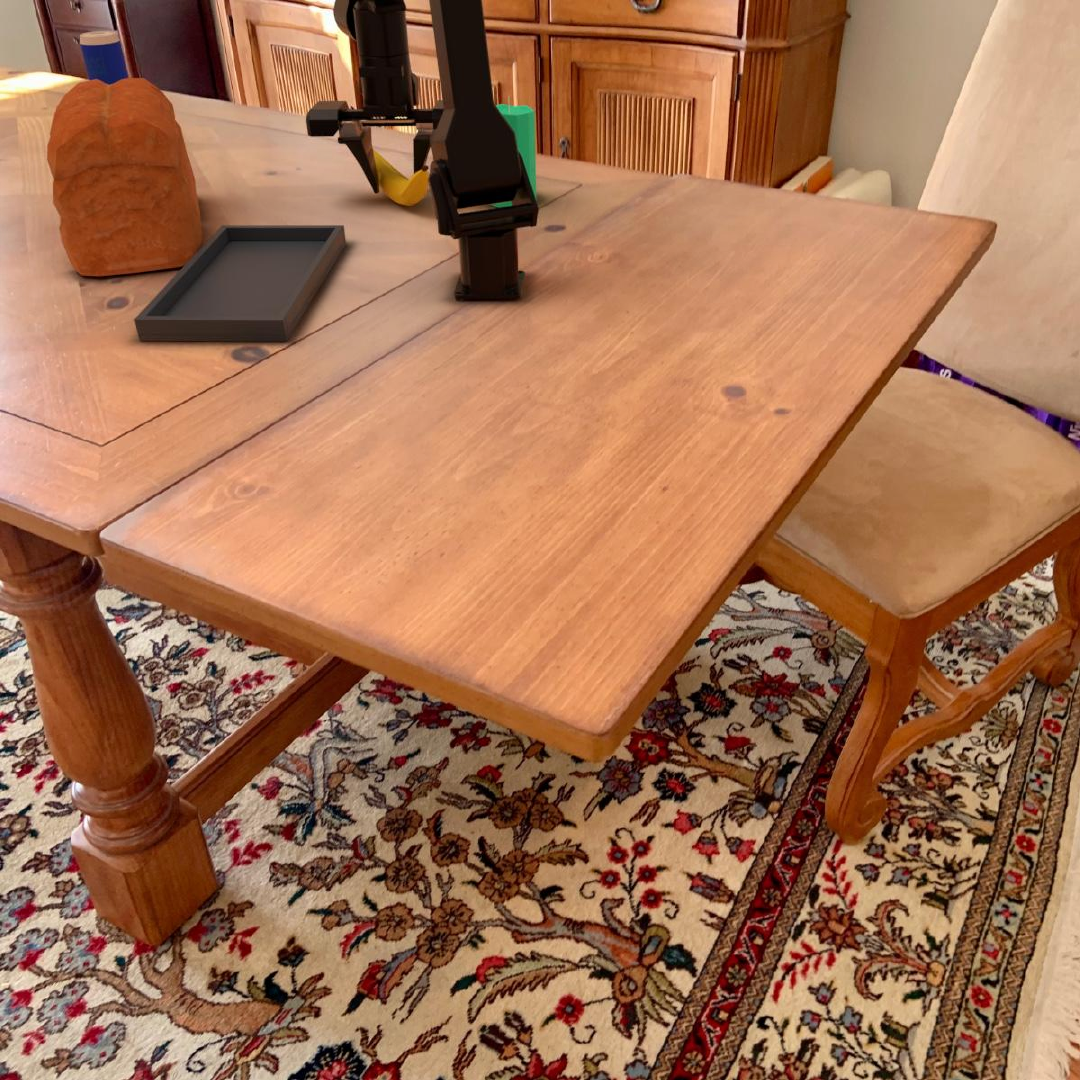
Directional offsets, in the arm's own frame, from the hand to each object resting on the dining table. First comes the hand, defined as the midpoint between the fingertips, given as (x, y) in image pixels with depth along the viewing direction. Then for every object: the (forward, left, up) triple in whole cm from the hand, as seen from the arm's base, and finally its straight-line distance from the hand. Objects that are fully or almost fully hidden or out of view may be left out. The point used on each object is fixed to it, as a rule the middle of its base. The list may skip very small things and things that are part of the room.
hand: (397, 192), depth 124 cm
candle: (0, -14, -1) cm, 14 cm away
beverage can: (+25, +44, -1) cm, 51 cm away
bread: (-12, +28, -1) cm, 30 cm away
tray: (-28, +10, -1) cm, 30 cm away
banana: (0, 0, -1) cm, 1 cm away
